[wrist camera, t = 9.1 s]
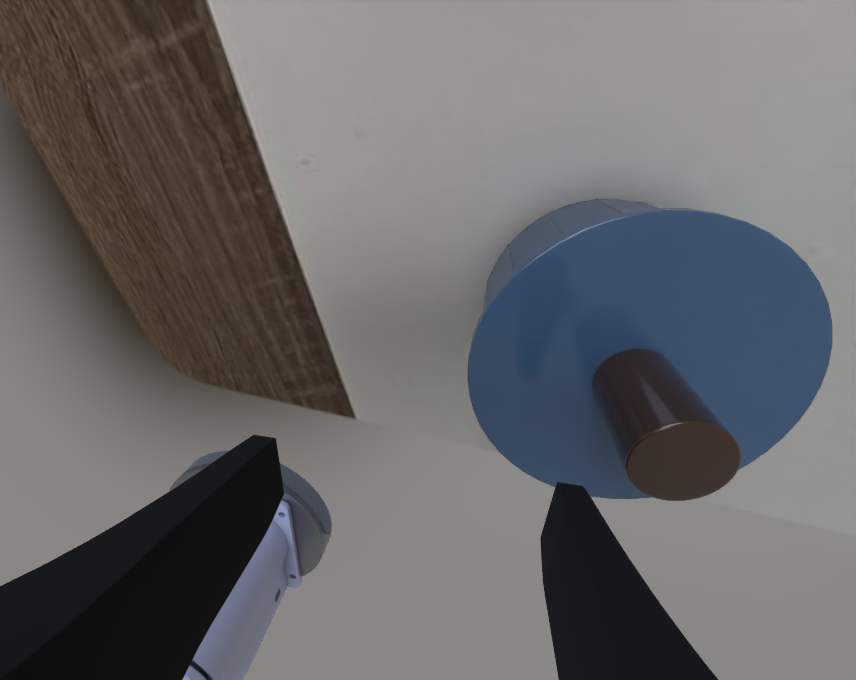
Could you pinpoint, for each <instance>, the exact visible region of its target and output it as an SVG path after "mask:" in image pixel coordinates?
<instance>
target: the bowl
mask: <svg viewBox="0 0 856 680" xmlns="http://www.w3.org/2000/svg"><path fill="white" fill-rule="evenodd" d="M654 208H657V207H654V206H652V205H649V204H646V203H643V202H631V201H624V200H617V199H595V200H590V201H583V202H579V203H575V204H571V205H568V206H565V207H562V208H560V209H557V210H555V211H552V212H551V213H549V214H547V215H545V216H543V217H541V218H539V219H538V220H536V221H535V222H534V223H532V224H531V225H529V226H528V227H526V228H525V229H524V230H523V231H522V232H521V233H520V234H518V235H517V236H516V237H515V238H514V239H513V240H512V242H511V243H510V244H509V245H508V246H507V247H506V248H505V250H504V251H503V253H502V254H501V256H500V257H499V259H498V260H497V262H496V264H495V266H494V268H493V270H492V272H491V275H490V276H489V278H488V280H487V284H486V292H485V298H484V307H483V311H484V309H485V307H486V305H487V303H488V302H489V300H490V299H491V297H492V296H493V294H494V293H495V292H496V290H497V289H498V287H499V286H500V285H501V284H502V282H503V281H504V280H505V279H506V278H507V277H508V276H509V275H510V274H511V273H512V272H513V271H514V269H515V268H516V267H518V266H519V265H520V264H521V263H522V262H523V261H525V260H526V259H527V258H528V257H529V256H531V255H532V254H533V253H534V252H536V251H537V250H539V249H540V248H542V247H543V246H545V245H546V244H548V243H549V242H551V241H552V240H554V239H555V238H557V237H559V236H561V235H563V234H565V233H567V232H569V231H571V230H573V229H575V228H577V227H579V226H582V225H585V224H588V223H590V222H593V221H596V220H599V219H601V218H604V217H608V216H612V215H617V214H621V213H625V212H629V211H636V210H645V209H654Z"/></svg>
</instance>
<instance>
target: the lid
mask: <svg viewBox="0 0 856 680" xmlns="http://www.w3.org/2000/svg"><path fill="white" fill-rule="evenodd" d="M831 349H832V320H831V315H830V310H829V305H828V301H827V299H826V297H825V294H824V292H823V290H822V287H821V285H820V282H819V281H818V279H817V278H816V276H815V275H814V273H813V272H812V271H811V269H810V268H809V266H808V265H807V263H806V262H805V261H804V260H803V259H802V258H801V257H800V256H799V255H798V254H797V253H796V252H795V251H794V250H793V249H792V248H791V247H790V246H788V245H787V244H785V243H784V242H782V241H781V240H779V239H778V238H776V237H775V236H774V235H772V234H771V233H769V232H767V231H765V230H763V229H760V228H758V227H756V226H754V225H752V224H750V223H748V222H745V221H741V220H738V219H735V218H731V217H728V216H724V215H721V214H718V213H714V212H708V211H701V210H695V209H688V208H654V209H645V210H636V211H629V212H625V213H621V214H617V215H612V216H608V217H604V218H601V219H599V220H596V221H593V222H590V223H588V224H585V225H582V226H579V227H577V228H575V229H573V230H571V231H569V232H567V233H565V234H563V235H561V236H559V237H557V238H555V239H554V240H552V241H551V242H549V243H548V244H546V245H545V246H543V247H542V248H540V249H539V250H537V251H536V252H534V253H533V254H532V255H531V256H529V257H528V258H527V259H526V260H525V261H523V262H522V263H521V264H520V265H519V266H518V267H516V268H515V269H514V271H513V272H512V273H511V274H510V275H509V276H508V277H507V278H506V279H505V280H504V281H503V282H502V284H501V285H500V286H499V287H498V289H497V290H496V292H495V293H494V294H493V296H492V297H491V299H490V300H489V302H488V303H487V305H486V307H485V309H484V311H483V313H482V315H481V317H480V319H479V321H478V324H477V326H476V329H475V332H474V335H473V338H472V343H471V348H470V353H469V359H468V387H469V395H470V399H471V403H472V406H473V410H474V413H475V415H476V417H477V419H478V422H479V424H480V426H481V428H482V429H483V431H484V432H485V434H486V436H487V437H488V439H489V440H490V441H491V443H492V444H493V445H494V446H495V447H496V448H497V450H498V451H499V452H500V453H501V454H502V455H503V456H504V457H505V458H507V459H508V460H509V461H510V462H511V463H512V464H514V465H515V466H516V467H518V468H519V469H521V470H522V471H523V472H525V473H527V474H528V475H530V476H532V477H534V478H536V479H537V480H539V481H541V482H544V483H546V484H549V485H551V486H553V487H556V484H557V482H560V483H566V484H573V485H579V486H583V487H584V488H585V489H586V490H587V492H588V494H589V495H590V496H591V497H600V498H610V499H637V498H650V497H654V498H658V499H662V500H669V501H684V500H691V499H696V498H700V497H703V496H706V495H709V494H711V493H713V492H715V491H717V490H719V489H720V488H722V487H723V486H725V485H726V484H727V483H728V482H729V481H730V480H731V479H732V478H733V477H734V475H735V474H736V472H737V471H738V470H739V469H740V468H742V467H744V466H746V465H748V464H749V463H751V462H752V461H754V460H755V459H757V458H758V457H760V456H761V455H763V454H764V453H765V452H767V451H768V450H769V449H770V448H772V447H773V446H774V445H775V444H776V443H777V442H779V441H780V440H781V439H782V438H783V437H784V436H785V435H786V434H787V433H788V432H789V431H790V430H791V429H792V428H793V427H794V426H795V425H796V424H797V422H798V421H799V420H800V419H801V417H802V416H803V415H804V413H805V412H806V410H807V409H808V408H809V406H810V405H811V403H812V402H813V400H814V398H815V396H816V394H817V392H818V390H819V389H820V387H821V385H822V382H823V379H824V376H825V374H826V371H827V368H828V365H829V360H830V354H831Z"/></svg>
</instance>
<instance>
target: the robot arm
mask: <svg viewBox="0 0 856 680" xmlns="http://www.w3.org/2000/svg"><path fill="white" fill-rule="evenodd" d="M283 496H284V489H283V482H282V476H281V469H280V463H279V456H278V450H277V443H276V439H275V438H271V437H264V436H257V435H253V436H251V437H250V438H249V439H247V440H245V441H244V442H242V443H241V444H239V445H238V446H236V447H235V448H233V449H232V450H230V451H229V452H227V453H226V454H225V455H223V456H222V457H220V458H219V459H217V460H216V461H214V462H213V463H211V464H210V465H208V466H207V467H206V468H204V469H203V470H201V471H200V472H198V473H197V474H195V475H194V476H192V477H191V478H189V479H188V480H186V481H185V482H183V483H182V484H180V485H179V486H177V487H176V488H174V489H173V490H171V491H170V492H168V493H167V494H165V495H163V496H162V497H160V498H158V499H157V500H155V501H154V502H152V503H151V504H149V505H147V506H146V507H144V508H143V509H141V510H139V511H138V512H136V513H134V514H133V515H131V516H130V517H128V518H127V519H125V520H123V521H121V522H120V523H118V524H117V525H115V526H113V527H112V528H110V529H108V530H106V531H105V532H103V533H101V534H100V535H98V536H96V537H94V538H92V539H91V540H89V541H87V542H85V543H84V544H82V545H80V546H78V547H77V548H74V549H73V550H71V551H69V552H67V553H65V554H63V555H61V556H59V557H58V558H56V559H54V560H52V561H50V562H49V563H46V564H44V565H42V566H41V567H39V568H37V569H35V570H32V571H30V572H28V573H26V574H24V575H22V576H20V577H18V578H16V579H14V580H12V581H10V582H8V583H6V584H4V585H2V586H0V680H242V679H243V677H244V676H245V674H246V673H247V671H248V669H249V667H250V665H251V663H252V661H253V659H254V657H255V655H256V653H257V650H258V648H259V646H260V644H261V642H262V640H263V638H264V635H265V633H266V631H267V629H268V627H269V625H270V623H271V620H272V618H273V616H274V614H275V612H276V610H277V607H278V605H279V603H280V601H281V599H282V597H283V595H284V593H285V590H286V588H287V586H289V587H294V588H297V587H300V585H301V582H302V578H301V572H300V566H299V559H298V553H297V546H296V540H295V534H294V527H293V521H292V515H291V508H290V505H289V504H288V503H287V502H286V501H283V500H282V498H283ZM541 557H542V573H543V584H544V591H545V598H546V604H547V610H548V616H549V623H550V629H551V635H552V641H553V647H554V653H555V658H556V665H557V671H558V677H559V680H718V679H717V678H716V676H715V675H714V674H713V673H712V671H711V670H710V669H709V668H708V666H707V665H706V664H705V663H704V661H703V660H702V659H701V658H700V656H699V655H698V654H697V652H696V651H695V650H694V649H693V647H692V646H691V645H690V643H689V642H688V641H687V639H686V638H685V637H684V635H683V634H682V633H681V631H680V630H679V629H678V627H677V626H676V625H675V623H674V622H673V620H672V619H671V618H670V617H669V615H668V614H667V612H666V611H665V610H664V608H663V607H662V606H661V604H660V603H659V601H658V600H657V598H656V597H655V596H654V594H653V593H652V591H651V590H650V589H649V587H648V586H647V584H646V583H645V581H644V580H643V578H642V577H641V575H640V574H639V572H638V571H637V569H636V568H635V566H634V565H633V564H632V562H631V561H630V559H629V558H628V556H627V555H626V553H625V551H624V550H623V548H622V547H621V545H620V544H619V542H618V541H617V539H616V537H615V536H614V535H613V533H612V531H611V530H610V528H609V526H608V525H607V523H606V522H605V520H604V518H603V517H602V515H601V513H600V512H599V510H598V509H597V507H596V505H595V504H594V502H593V500H592V499H591V497H590V495H589V494H588V492H587V490H586V489H585V488H584V487H583V486H579V485H573V484H566V483H560V482H557V484H556V488H555V491H554V494H553V498H552V501H551V504H550V508H549V511H548V515H547V518H546V521H545V525H544V528H543V531H542V535H541Z"/></svg>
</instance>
